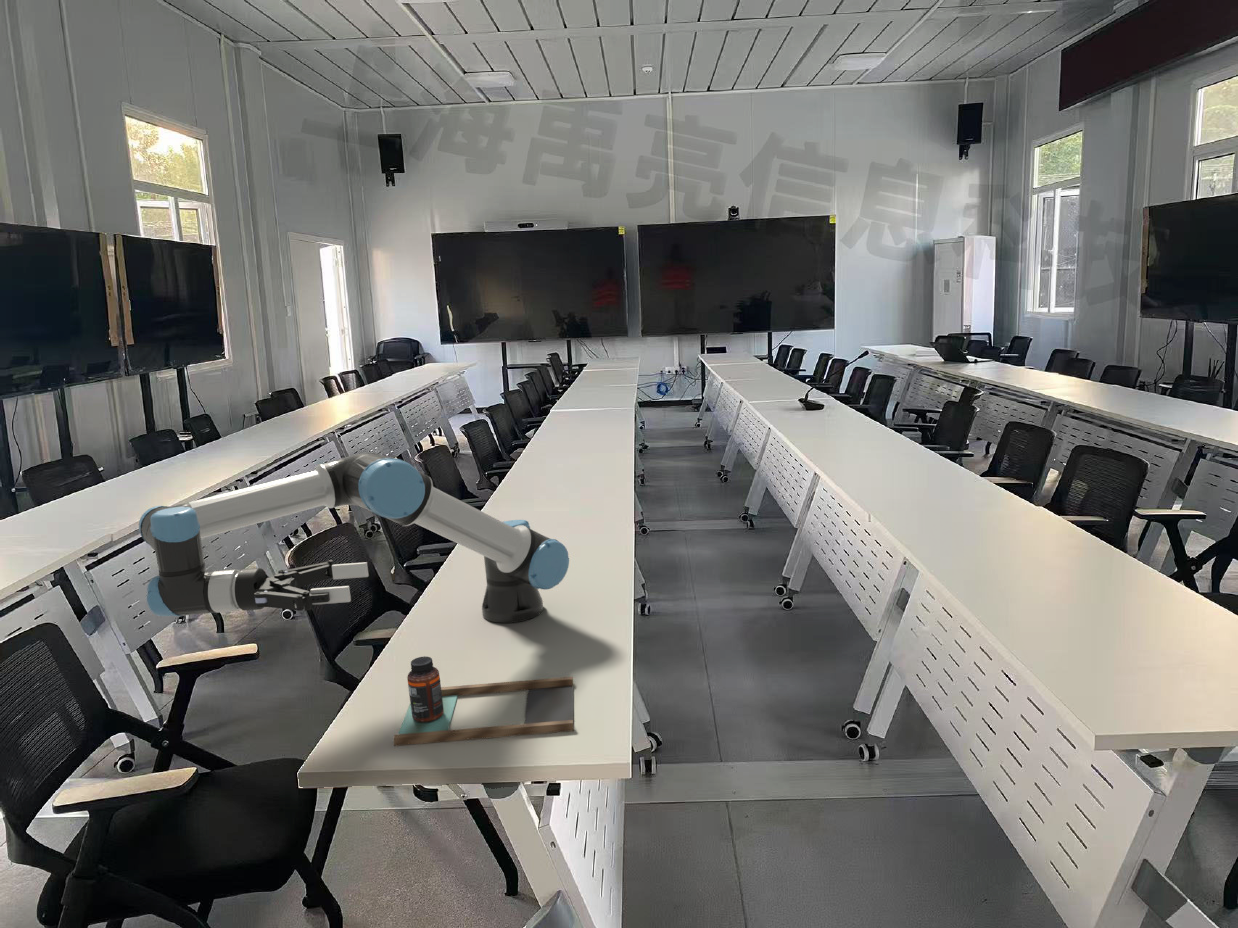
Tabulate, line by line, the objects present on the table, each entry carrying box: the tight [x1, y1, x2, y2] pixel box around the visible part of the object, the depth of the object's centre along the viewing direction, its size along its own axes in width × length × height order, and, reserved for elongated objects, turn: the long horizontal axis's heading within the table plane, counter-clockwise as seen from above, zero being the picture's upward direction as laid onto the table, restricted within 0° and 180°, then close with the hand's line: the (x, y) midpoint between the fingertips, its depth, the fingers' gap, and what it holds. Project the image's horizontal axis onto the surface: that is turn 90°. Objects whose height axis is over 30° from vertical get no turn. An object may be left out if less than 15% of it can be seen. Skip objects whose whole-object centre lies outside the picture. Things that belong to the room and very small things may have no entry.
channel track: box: [393, 676, 574, 747], centre depth 164 cm, size 32×19×2 cm, turn 93°
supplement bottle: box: [406, 655, 444, 722], centre depth 162 cm, size 6×6×11 cm
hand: (359, 581), depth 157 cm, fingers open, 13 cm apart
